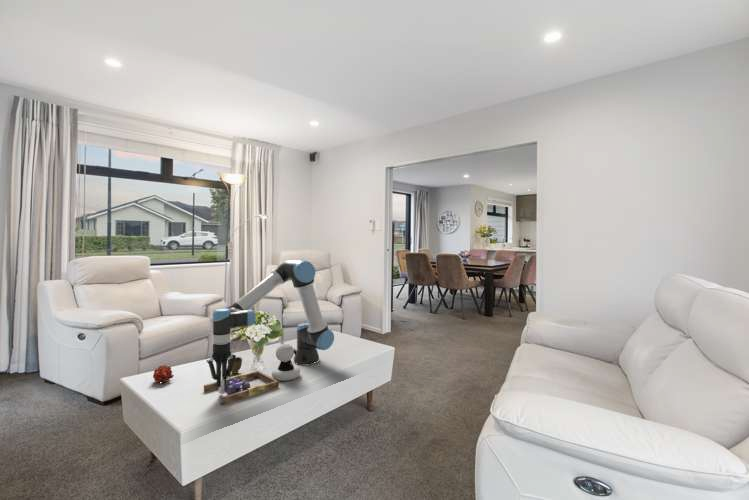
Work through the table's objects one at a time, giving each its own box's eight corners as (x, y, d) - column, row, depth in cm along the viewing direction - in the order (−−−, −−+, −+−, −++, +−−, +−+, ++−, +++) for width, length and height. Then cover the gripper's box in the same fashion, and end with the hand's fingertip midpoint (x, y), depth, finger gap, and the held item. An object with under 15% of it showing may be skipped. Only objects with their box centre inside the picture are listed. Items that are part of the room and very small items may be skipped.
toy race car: (238, 384, 178) (238, 371, 177) (250, 393, 167) (250, 379, 167) (218, 389, 171) (218, 375, 171) (230, 399, 160) (230, 384, 160)
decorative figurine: (305, 377, 186) (305, 340, 186) (280, 384, 176) (280, 345, 176) (291, 370, 197) (291, 334, 197) (266, 376, 187) (267, 339, 187)
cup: (225, 373, 191) (225, 358, 191) (238, 370, 196) (238, 355, 196) (230, 376, 186) (231, 361, 186) (244, 373, 191) (244, 358, 191)
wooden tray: (258, 376, 187) (258, 369, 187) (278, 387, 173) (278, 380, 173) (203, 391, 167) (203, 384, 167) (221, 405, 153) (221, 397, 153)
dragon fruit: (163, 380, 184) (165, 391, 175) (147, 373, 180) (149, 384, 170) (174, 366, 186) (177, 376, 177) (159, 359, 182) (161, 369, 172)
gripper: (231, 338, 170) (231, 386, 170) (203, 343, 161) (203, 394, 161) (238, 341, 165) (238, 391, 165) (210, 347, 155) (210, 399, 156)
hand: (221, 392), depth 163 cm, fingers closed
